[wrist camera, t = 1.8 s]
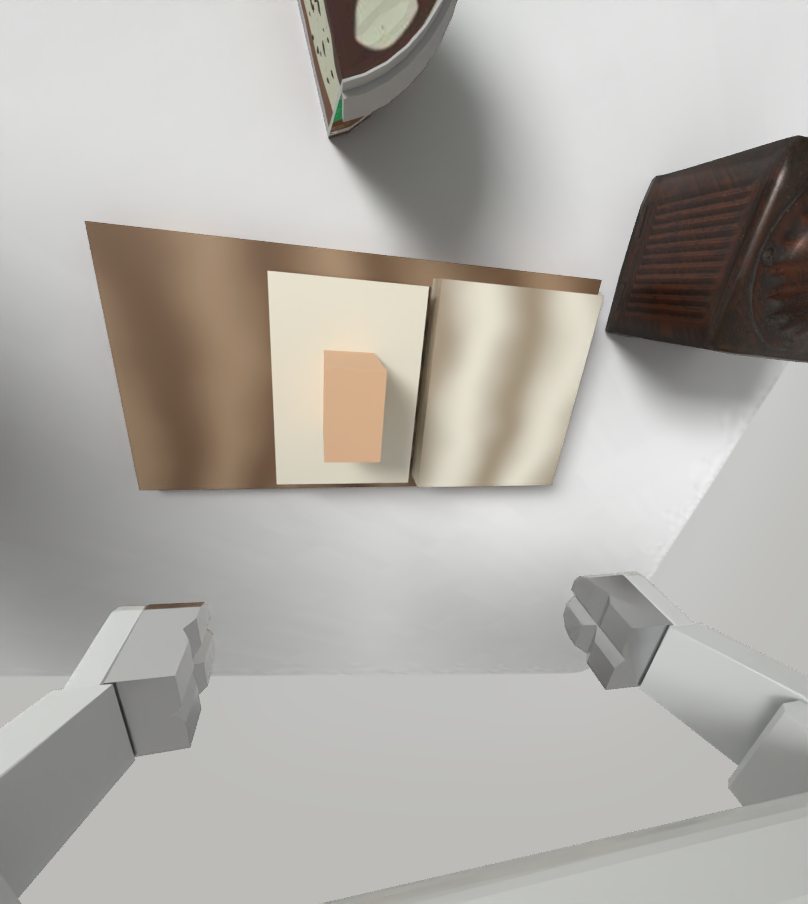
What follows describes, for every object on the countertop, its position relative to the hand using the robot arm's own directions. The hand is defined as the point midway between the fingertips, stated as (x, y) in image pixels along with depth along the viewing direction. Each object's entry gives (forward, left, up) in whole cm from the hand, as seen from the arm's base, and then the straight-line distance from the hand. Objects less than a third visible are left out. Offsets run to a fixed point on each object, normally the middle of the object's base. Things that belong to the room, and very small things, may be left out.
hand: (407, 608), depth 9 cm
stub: (0, 0, -20) cm, 20 cm away
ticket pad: (+2, 0, -21) cm, 22 cm away
